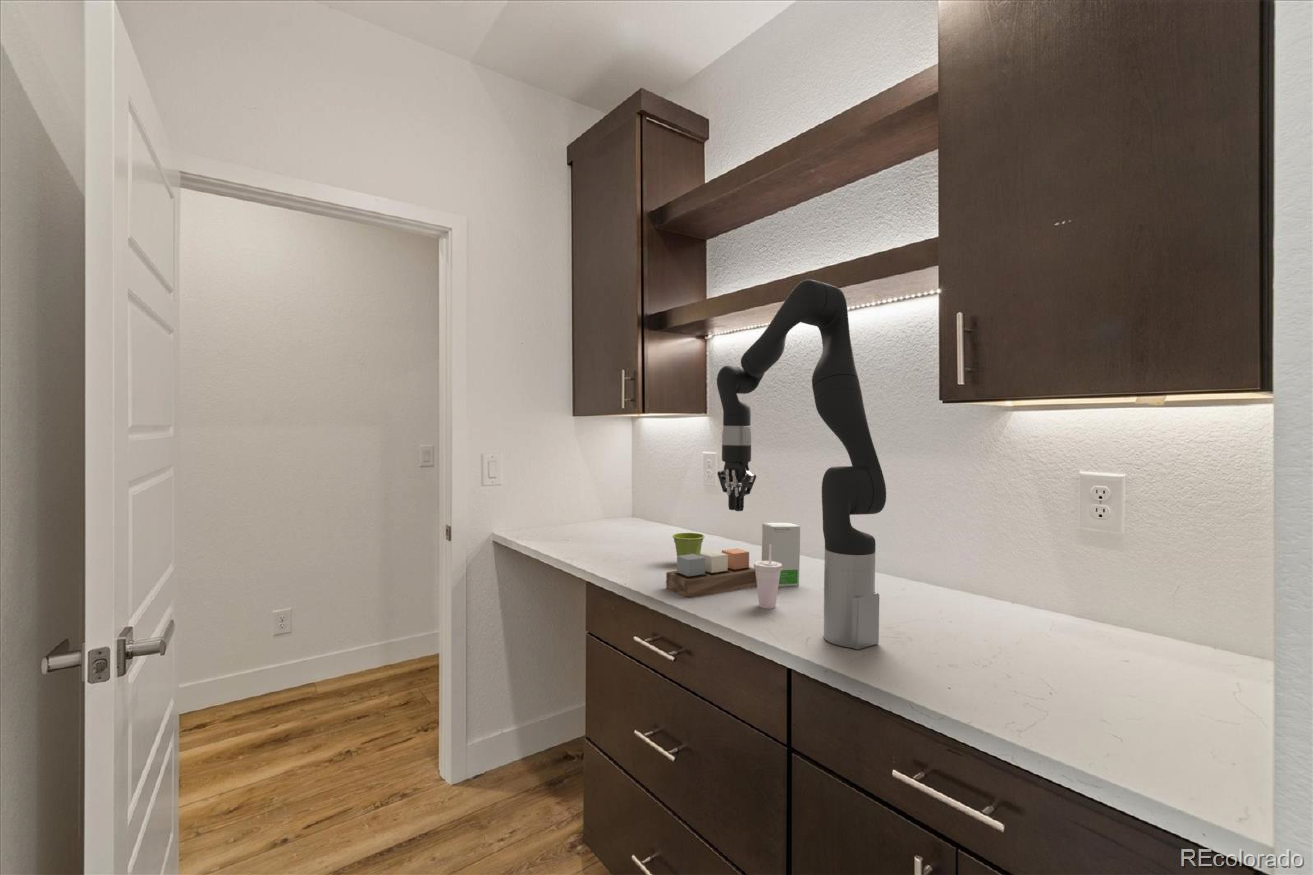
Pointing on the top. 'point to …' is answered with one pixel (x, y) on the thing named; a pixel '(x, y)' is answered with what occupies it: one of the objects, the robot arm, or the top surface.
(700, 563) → the key slate
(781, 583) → the skincare box
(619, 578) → the top surface
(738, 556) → the key rust
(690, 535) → the plant pot
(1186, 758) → the top surface
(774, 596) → the smoothie
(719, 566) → the key cream
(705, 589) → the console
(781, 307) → the robot arm
